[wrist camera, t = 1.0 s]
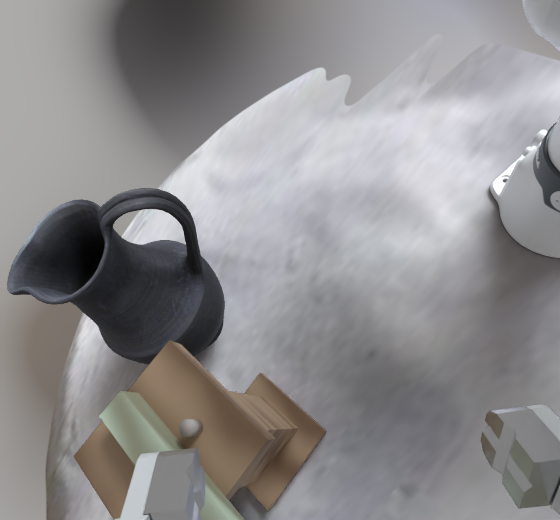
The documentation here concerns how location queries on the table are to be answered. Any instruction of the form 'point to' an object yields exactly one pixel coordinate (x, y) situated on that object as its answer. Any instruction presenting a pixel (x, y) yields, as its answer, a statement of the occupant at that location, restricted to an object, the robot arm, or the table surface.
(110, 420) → the bar
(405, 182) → the table surface
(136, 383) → the shelf stand
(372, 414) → the table surface
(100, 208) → the pitcher
